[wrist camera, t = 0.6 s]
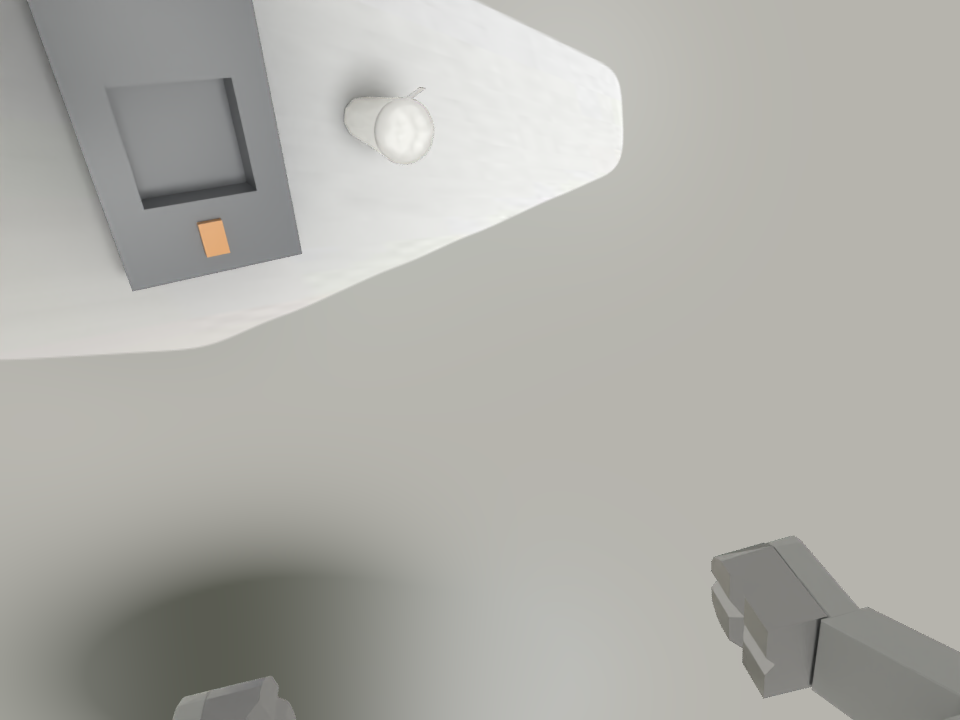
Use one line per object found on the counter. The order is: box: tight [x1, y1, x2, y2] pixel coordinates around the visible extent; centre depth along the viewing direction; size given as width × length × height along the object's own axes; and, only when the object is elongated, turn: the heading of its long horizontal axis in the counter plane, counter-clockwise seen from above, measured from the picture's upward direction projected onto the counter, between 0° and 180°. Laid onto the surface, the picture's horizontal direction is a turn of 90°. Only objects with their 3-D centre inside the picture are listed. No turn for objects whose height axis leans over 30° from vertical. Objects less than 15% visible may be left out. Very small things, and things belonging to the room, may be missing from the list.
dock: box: [27, 0, 302, 291], centre depth 41 cm, size 18×12×5 cm, turn 1°
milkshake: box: [344, 87, 434, 165], centre depth 45 cm, size 4×5×10 cm
